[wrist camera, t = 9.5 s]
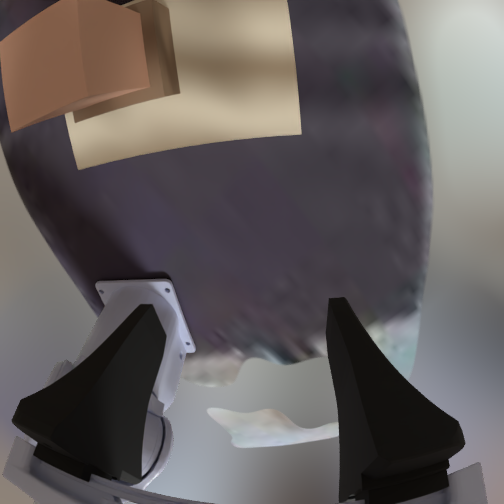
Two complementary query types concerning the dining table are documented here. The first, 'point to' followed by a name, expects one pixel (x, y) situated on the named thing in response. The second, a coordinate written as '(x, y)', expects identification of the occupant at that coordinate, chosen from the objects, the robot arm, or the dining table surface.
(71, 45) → the top block
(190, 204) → the dining table surface
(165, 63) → the base block
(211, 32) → the board
